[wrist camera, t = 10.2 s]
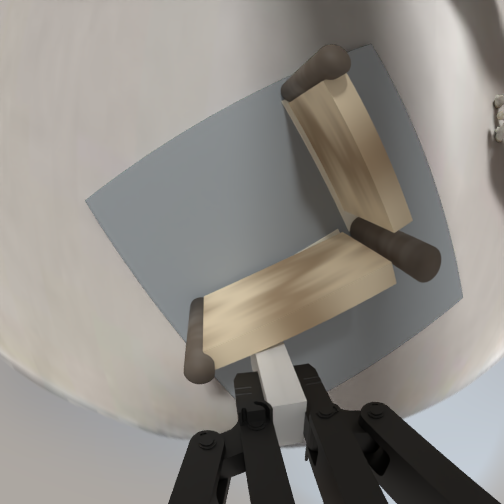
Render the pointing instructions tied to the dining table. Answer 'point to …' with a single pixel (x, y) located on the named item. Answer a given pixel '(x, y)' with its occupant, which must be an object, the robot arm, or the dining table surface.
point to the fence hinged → (281, 303)
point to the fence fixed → (356, 161)
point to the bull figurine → (499, 117)
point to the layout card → (275, 220)
